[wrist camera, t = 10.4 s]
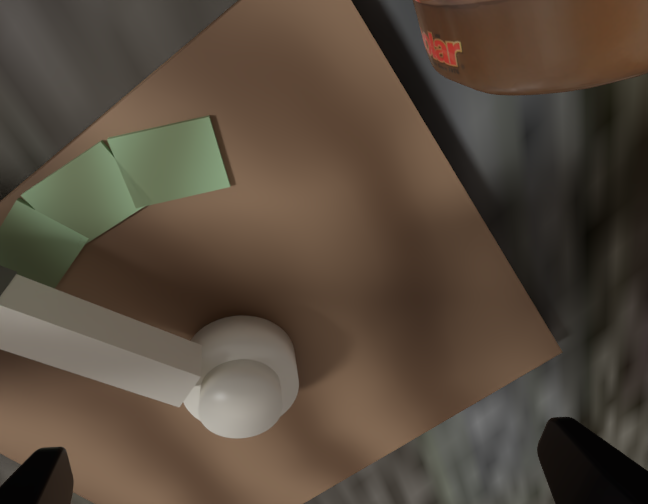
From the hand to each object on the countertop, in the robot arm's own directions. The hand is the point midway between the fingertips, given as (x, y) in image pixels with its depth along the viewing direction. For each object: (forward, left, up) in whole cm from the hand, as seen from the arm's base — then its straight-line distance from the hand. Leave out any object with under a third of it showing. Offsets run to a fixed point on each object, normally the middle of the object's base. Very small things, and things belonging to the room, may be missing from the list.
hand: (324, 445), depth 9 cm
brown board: (-5, -4, -11) cm, 13 cm away
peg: (-7, 0, -10) cm, 12 cm away
